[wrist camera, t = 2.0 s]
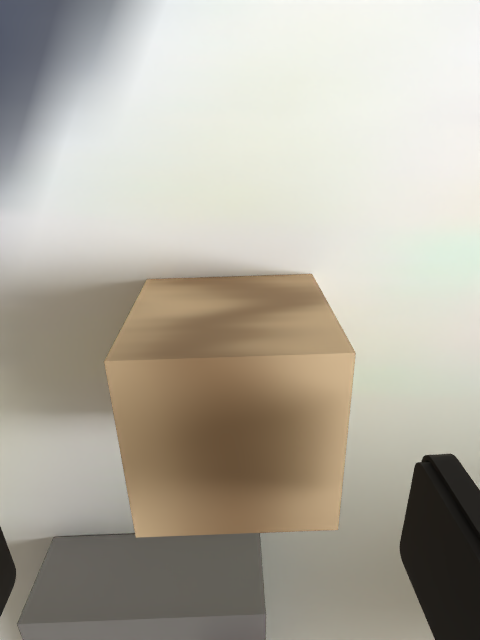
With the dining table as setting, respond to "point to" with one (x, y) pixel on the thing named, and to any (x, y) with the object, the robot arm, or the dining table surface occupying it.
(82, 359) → the dining table surface
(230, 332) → the oak cube
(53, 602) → the slate pedestal
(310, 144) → the dining table surface
